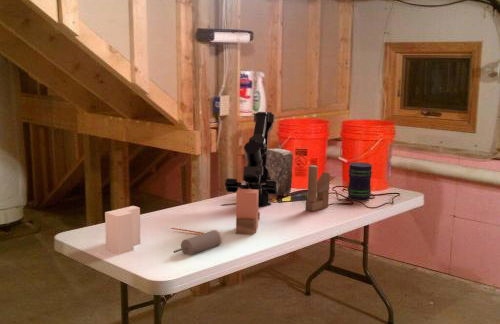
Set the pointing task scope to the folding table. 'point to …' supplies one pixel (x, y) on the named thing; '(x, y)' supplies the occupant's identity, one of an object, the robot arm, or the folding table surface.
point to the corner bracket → (122, 229)
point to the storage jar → (359, 181)
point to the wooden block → (317, 189)
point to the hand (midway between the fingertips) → (248, 206)
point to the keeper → (247, 204)
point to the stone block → (280, 169)
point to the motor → (199, 241)
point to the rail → (246, 225)
